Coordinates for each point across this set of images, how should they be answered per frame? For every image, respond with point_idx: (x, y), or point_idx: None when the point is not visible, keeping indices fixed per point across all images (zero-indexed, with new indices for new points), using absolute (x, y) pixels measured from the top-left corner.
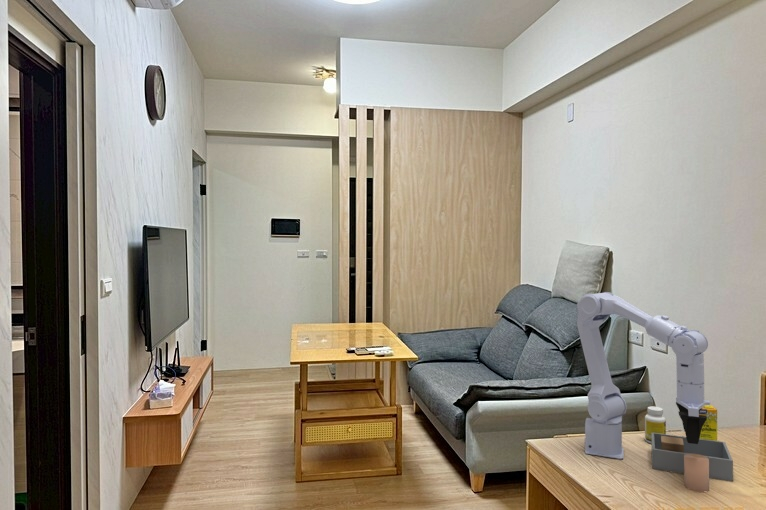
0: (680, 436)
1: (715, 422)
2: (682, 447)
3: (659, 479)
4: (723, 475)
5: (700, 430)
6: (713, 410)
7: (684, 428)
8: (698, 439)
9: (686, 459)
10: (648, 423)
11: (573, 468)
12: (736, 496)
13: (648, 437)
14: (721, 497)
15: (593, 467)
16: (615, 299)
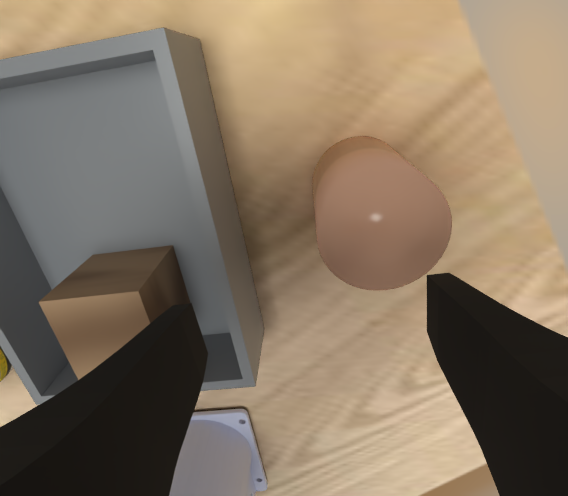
0: None
1: None
2: (145, 288)
3: (352, 301)
4: (203, 83)
5: (558, 337)
6: None
7: (201, 377)
8: (473, 290)
9: (416, 273)
10: None
11: (395, 489)
12: (378, 17)
13: (1, 378)
14: (422, 83)
15: (358, 456)
16: None
